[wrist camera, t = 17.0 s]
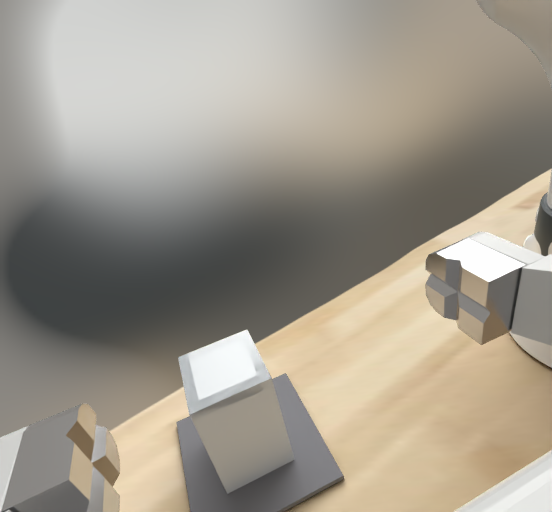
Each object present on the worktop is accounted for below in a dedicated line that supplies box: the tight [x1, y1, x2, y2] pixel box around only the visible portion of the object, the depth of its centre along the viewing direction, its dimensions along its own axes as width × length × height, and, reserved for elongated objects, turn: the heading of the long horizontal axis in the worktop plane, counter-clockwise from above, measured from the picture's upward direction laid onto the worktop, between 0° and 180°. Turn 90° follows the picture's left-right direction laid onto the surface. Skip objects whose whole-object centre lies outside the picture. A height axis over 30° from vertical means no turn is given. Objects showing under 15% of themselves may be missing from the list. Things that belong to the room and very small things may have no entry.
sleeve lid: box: [178, 330, 295, 494], centre depth 30 cm, size 6×6×10 cm
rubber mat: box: [177, 373, 344, 512], centre depth 32 cm, size 12×12×1 cm
